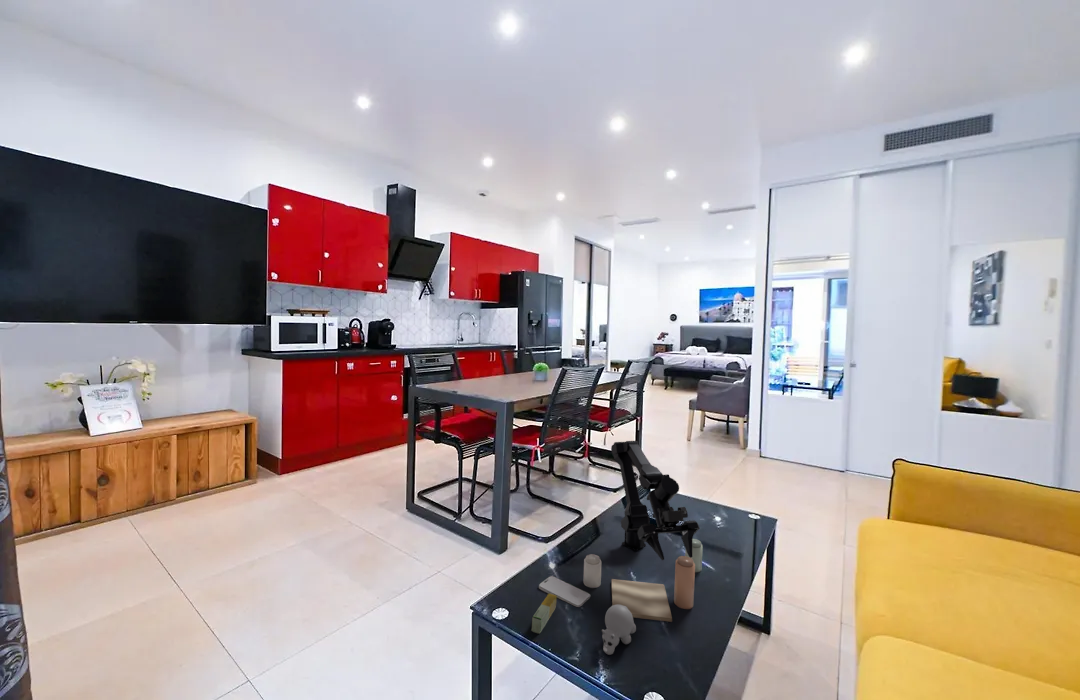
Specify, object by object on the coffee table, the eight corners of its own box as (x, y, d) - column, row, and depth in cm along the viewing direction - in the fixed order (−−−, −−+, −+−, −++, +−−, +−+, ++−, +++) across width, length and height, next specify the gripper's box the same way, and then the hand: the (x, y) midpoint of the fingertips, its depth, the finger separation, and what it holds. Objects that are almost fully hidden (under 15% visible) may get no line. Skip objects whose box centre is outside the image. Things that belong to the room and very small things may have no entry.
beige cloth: (611, 582, 137) (611, 579, 137) (663, 587, 135) (663, 584, 135) (612, 614, 121) (612, 611, 121) (671, 621, 119) (672, 618, 119)
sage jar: (681, 567, 147) (682, 541, 147) (689, 561, 151) (690, 536, 150) (696, 574, 143) (697, 547, 143) (704, 568, 147) (705, 542, 146)
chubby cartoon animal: (594, 656, 110) (587, 632, 107) (616, 616, 118) (611, 593, 115) (619, 670, 105) (613, 646, 102) (641, 628, 113) (636, 604, 111)
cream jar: (579, 582, 137) (580, 557, 137) (591, 575, 141) (592, 551, 140) (592, 590, 133) (593, 564, 132) (604, 583, 137) (605, 558, 136)
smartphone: (578, 606, 124) (537, 585, 133) (578, 610, 124) (537, 589, 133) (591, 594, 130) (551, 575, 139) (591, 598, 130) (550, 578, 139)
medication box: (540, 635, 113) (541, 620, 113) (530, 631, 114) (531, 617, 114) (556, 608, 124) (557, 594, 124) (547, 605, 125) (548, 592, 125)
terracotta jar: (670, 602, 128) (672, 559, 127) (680, 595, 131) (681, 553, 131) (687, 611, 124) (689, 567, 123) (696, 603, 127) (698, 560, 127)
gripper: (642, 498, 134) (658, 552, 124) (697, 495, 138) (717, 546, 127) (631, 513, 142) (645, 564, 132) (683, 510, 146) (700, 559, 135)
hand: (677, 558), depth 131 cm, fingers open, 9 cm apart
